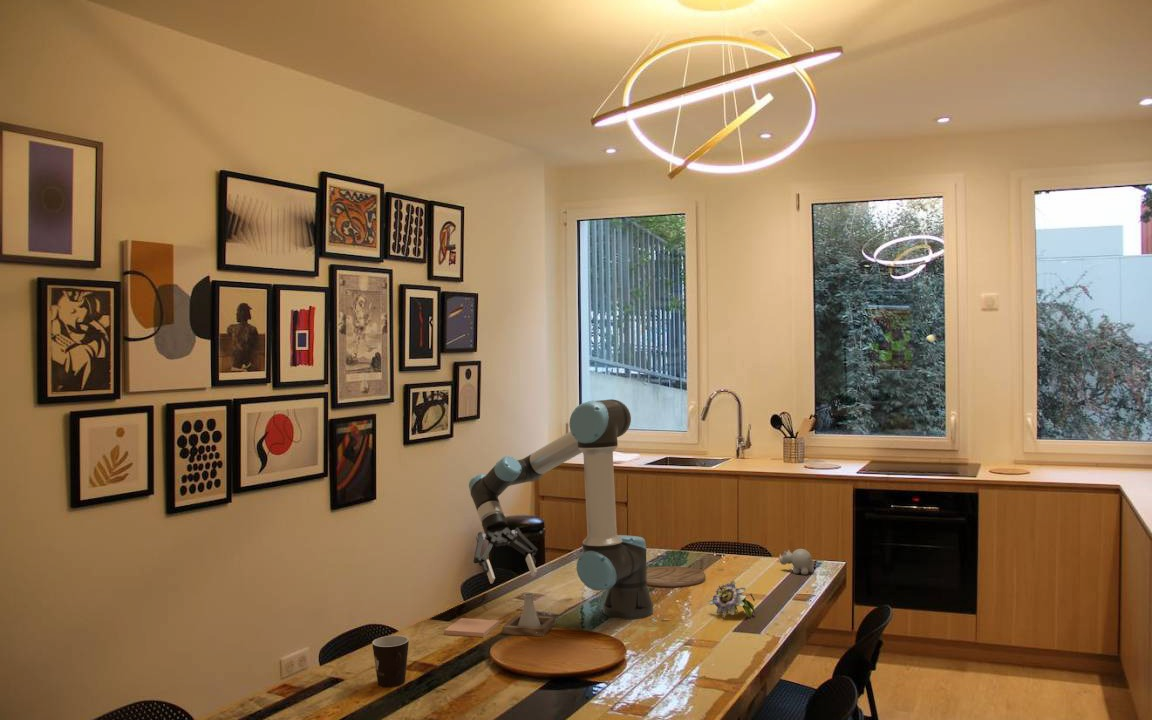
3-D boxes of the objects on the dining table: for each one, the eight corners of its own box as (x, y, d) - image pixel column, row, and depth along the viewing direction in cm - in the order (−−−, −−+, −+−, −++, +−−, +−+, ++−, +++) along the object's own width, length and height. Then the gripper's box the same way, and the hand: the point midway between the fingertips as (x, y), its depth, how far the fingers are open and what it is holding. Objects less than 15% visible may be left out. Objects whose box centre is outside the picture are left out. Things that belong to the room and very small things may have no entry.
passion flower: (725, 635, 259) (700, 601, 261) (738, 619, 268) (714, 586, 270) (753, 619, 253) (727, 584, 255) (765, 603, 262) (741, 569, 264)
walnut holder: (555, 623, 256) (555, 617, 256) (542, 636, 245) (542, 629, 245) (516, 621, 260) (516, 614, 260) (502, 633, 248) (502, 626, 248)
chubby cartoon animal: (785, 567, 319) (784, 544, 319) (815, 572, 311) (815, 548, 311) (775, 571, 313) (774, 547, 314) (806, 576, 305) (805, 552, 306)
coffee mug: (375, 677, 215) (374, 636, 215) (411, 675, 216) (410, 634, 216) (368, 695, 204) (367, 651, 204) (406, 693, 205) (405, 649, 205)
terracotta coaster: (499, 624, 257) (499, 620, 257) (483, 637, 245) (483, 632, 245) (461, 622, 260) (461, 618, 260) (444, 634, 249) (444, 630, 249)
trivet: (717, 576, 310) (717, 570, 310) (686, 592, 289) (686, 586, 289) (653, 568, 324) (653, 563, 324) (620, 583, 303) (620, 578, 303)
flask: (538, 633, 248) (537, 597, 248) (513, 632, 249) (513, 597, 249) (544, 625, 255) (543, 591, 255) (520, 624, 256) (519, 590, 256)
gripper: (525, 522, 281) (547, 579, 268) (451, 530, 269) (471, 590, 256) (532, 508, 277) (555, 565, 263) (457, 516, 265) (477, 576, 251)
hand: (514, 577), depth 260 cm, fingers open, 13 cm apart
